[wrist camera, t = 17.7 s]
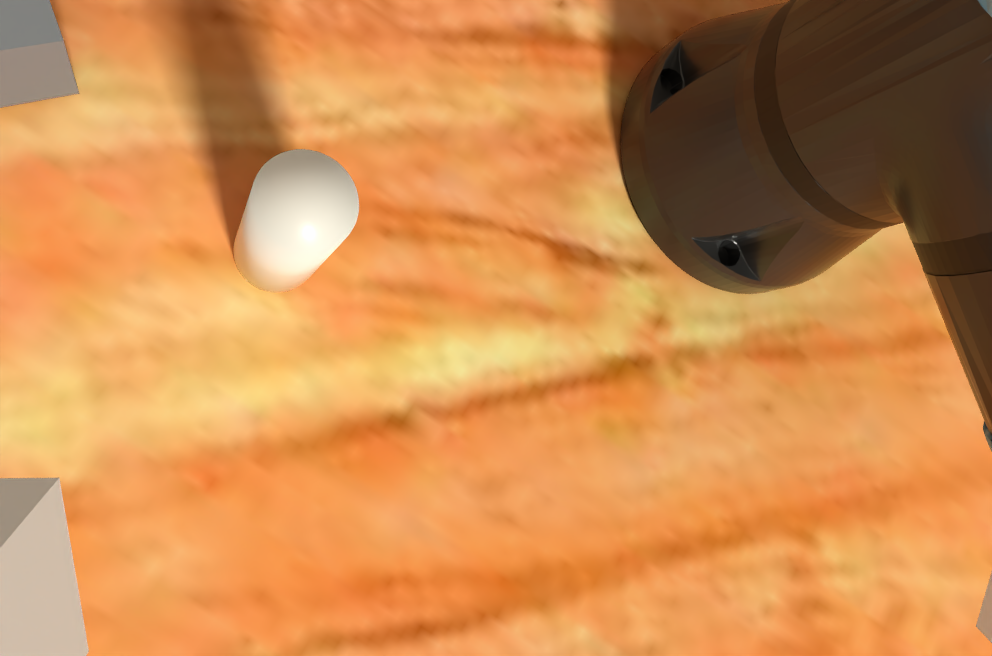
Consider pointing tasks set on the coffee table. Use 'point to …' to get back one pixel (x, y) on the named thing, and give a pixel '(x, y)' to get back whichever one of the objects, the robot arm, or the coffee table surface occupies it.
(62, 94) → the hole block
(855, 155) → the robot arm
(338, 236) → the short pin
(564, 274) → the coffee table surface
